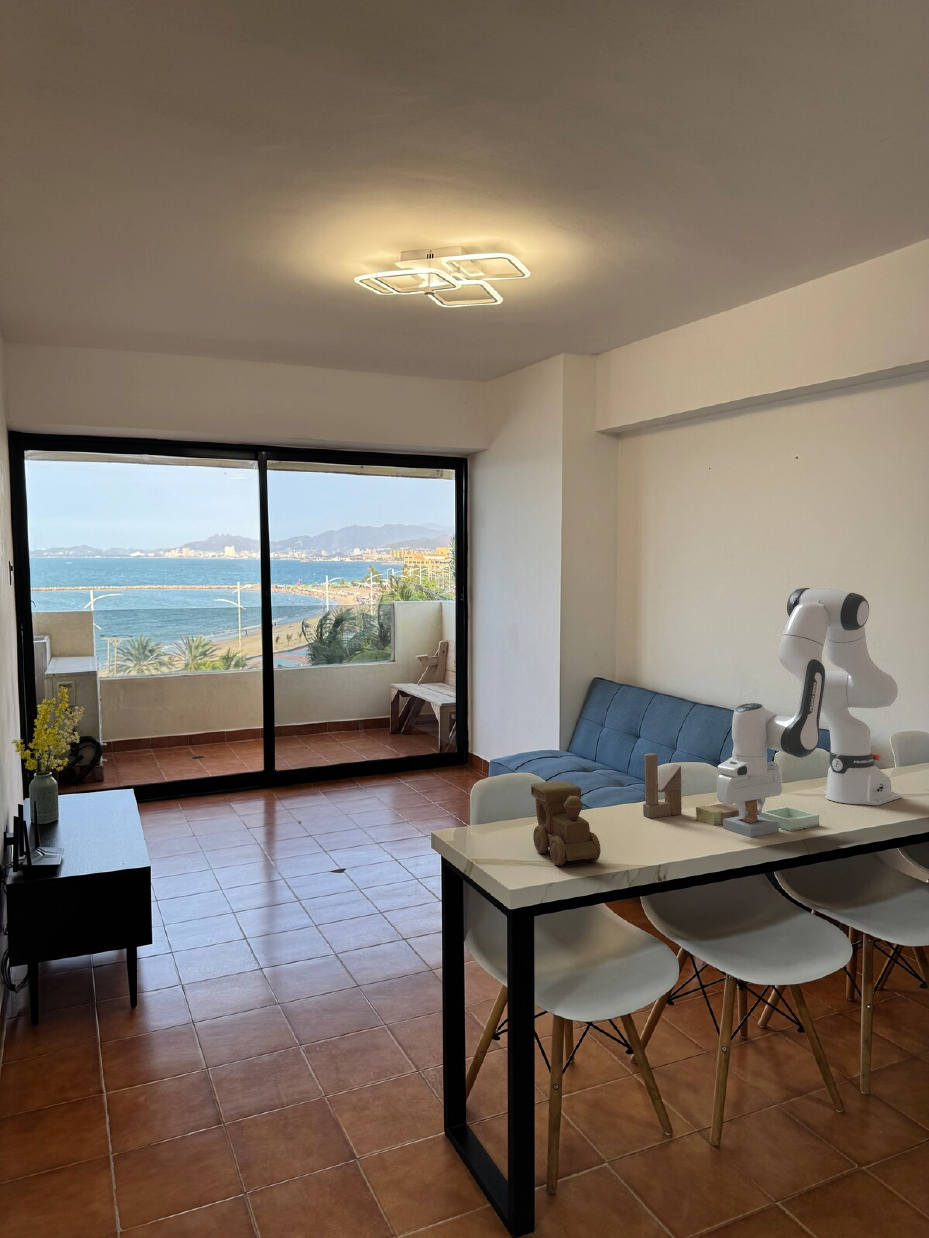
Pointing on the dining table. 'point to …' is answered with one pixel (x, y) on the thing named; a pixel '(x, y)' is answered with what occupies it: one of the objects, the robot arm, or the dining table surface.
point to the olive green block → (709, 815)
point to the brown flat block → (726, 810)
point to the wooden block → (661, 789)
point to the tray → (791, 818)
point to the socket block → (751, 826)
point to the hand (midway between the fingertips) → (750, 815)
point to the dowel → (751, 812)
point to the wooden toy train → (562, 823)
